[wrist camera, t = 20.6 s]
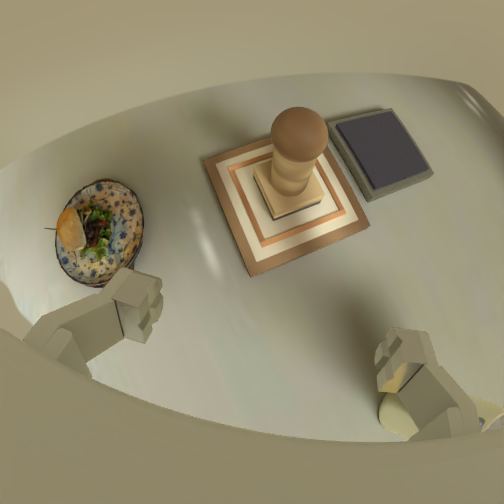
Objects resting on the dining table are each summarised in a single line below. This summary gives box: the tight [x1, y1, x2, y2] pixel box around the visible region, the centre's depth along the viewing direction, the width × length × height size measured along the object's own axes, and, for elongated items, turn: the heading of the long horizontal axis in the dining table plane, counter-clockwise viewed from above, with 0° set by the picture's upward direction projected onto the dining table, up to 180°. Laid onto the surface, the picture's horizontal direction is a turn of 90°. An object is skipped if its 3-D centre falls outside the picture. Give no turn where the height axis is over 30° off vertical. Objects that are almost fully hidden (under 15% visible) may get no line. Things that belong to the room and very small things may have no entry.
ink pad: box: [327, 108, 434, 202], centre depth 29 cm, size 10×10×2 cm
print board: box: [203, 137, 370, 277], centre depth 28 cm, size 13×13×1 cm
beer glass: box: [379, 392, 504, 442], centre depth 17 cm, size 7×7×15 cm
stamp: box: [253, 107, 328, 221], centre depth 22 cm, size 5×5×12 cm
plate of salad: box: [44, 179, 144, 288], centre depth 25 cm, size 12×12×8 cm
